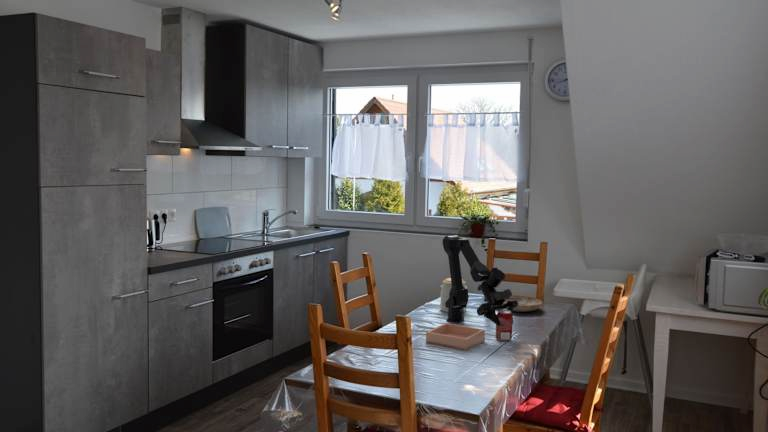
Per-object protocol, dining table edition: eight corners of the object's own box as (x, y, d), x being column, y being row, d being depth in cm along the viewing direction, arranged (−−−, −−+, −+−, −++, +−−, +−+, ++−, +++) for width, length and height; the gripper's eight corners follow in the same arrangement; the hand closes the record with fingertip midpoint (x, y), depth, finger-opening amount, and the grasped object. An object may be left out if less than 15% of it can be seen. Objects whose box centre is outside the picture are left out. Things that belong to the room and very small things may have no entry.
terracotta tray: (425, 342, 280) (426, 332, 280) (445, 333, 295) (446, 323, 295) (466, 350, 271) (466, 339, 270) (484, 340, 286) (484, 329, 286)
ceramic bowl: (513, 316, 328) (514, 306, 327) (484, 306, 348) (485, 296, 348) (551, 312, 338) (552, 302, 338) (521, 302, 359) (521, 292, 358)
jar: (470, 309, 340) (472, 274, 338) (459, 314, 329) (460, 278, 327) (447, 305, 347) (448, 271, 345) (435, 310, 336) (436, 275, 334)
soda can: (511, 342, 284) (512, 313, 283) (494, 341, 285) (496, 312, 284) (511, 337, 291) (513, 310, 289) (495, 336, 292) (496, 308, 291)
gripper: (482, 284, 284) (498, 316, 276) (516, 281, 294) (533, 312, 285) (469, 299, 292) (485, 331, 283) (503, 295, 301) (519, 326, 293)
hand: (506, 324), depth 286 cm, fingers closed on soda can, 6 cm apart
